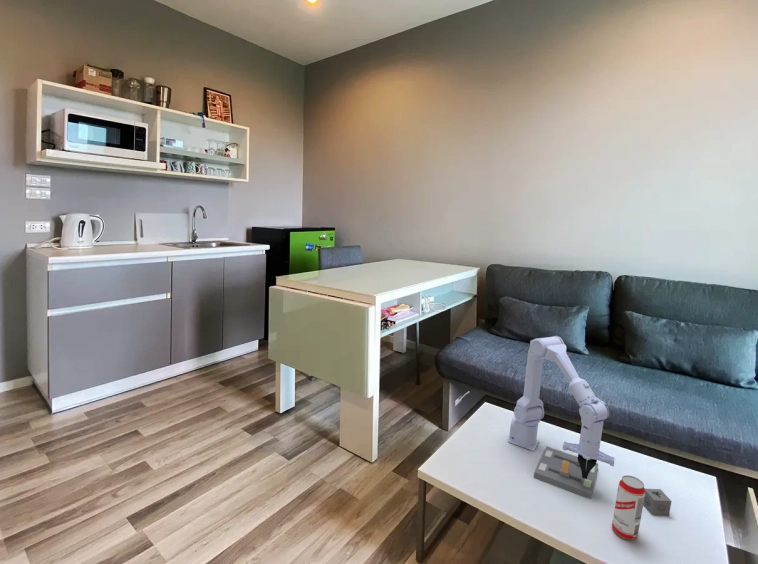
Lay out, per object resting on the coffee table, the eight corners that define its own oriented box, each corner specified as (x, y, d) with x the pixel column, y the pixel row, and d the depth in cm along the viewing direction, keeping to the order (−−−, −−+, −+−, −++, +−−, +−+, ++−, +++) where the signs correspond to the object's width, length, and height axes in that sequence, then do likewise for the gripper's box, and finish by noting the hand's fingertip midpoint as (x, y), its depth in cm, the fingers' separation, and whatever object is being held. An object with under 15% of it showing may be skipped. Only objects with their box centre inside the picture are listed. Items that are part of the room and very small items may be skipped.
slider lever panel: (533, 477, 134) (534, 471, 134) (545, 451, 149) (546, 445, 149) (590, 499, 125) (591, 493, 125) (597, 468, 140) (598, 463, 139)
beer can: (628, 545, 108) (637, 492, 105) (606, 528, 114) (614, 477, 111) (642, 536, 111) (651, 485, 108) (620, 520, 117) (628, 471, 114)
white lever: (575, 464, 138) (577, 452, 137) (576, 461, 140) (578, 449, 139) (584, 467, 137) (586, 455, 136) (585, 464, 139) (587, 452, 138)
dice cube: (657, 503, 124) (660, 489, 123) (668, 516, 119) (671, 501, 118) (641, 502, 124) (643, 488, 123) (651, 515, 119) (654, 500, 118)
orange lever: (559, 474, 133) (560, 462, 132) (560, 470, 135) (562, 459, 134) (568, 477, 131) (570, 465, 130) (569, 474, 133) (571, 462, 132)
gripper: (562, 436, 128) (558, 474, 130) (615, 452, 120) (609, 493, 122) (567, 426, 133) (562, 463, 136) (617, 441, 125) (611, 480, 128)
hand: (584, 476), depth 130 cm, fingers closed
